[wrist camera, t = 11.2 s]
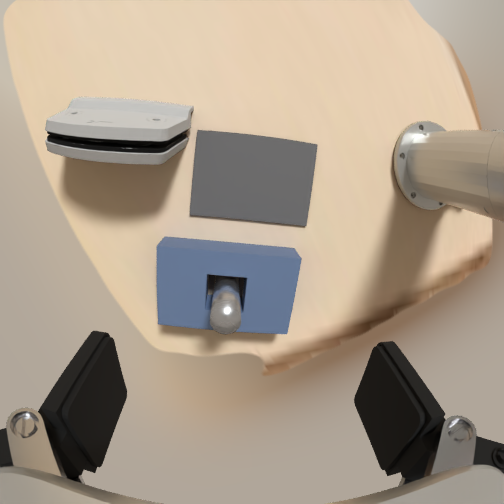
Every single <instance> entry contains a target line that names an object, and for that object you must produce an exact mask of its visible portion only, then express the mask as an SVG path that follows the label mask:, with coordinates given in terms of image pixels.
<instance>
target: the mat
mask: <svg viewBox="0 0 504 504" xmlns="http://www.w3.org/2000/svg"><path fill="white" fill-rule="evenodd" d="M316 153H317V144H311V143H305V142H299V141H293V140H287V139H280V138H273V137H265V136H257V135H249V134H239V133H229V132H217V131H203V130H198V132H197V140H196V149H195V159H194V169H193V180H192V192H191V205H190V215H198V216H210V217H221V218H232V219H243V220H253V221H263V222H273V223H283V224H292V225H301V226H306V224H307V218H308V211H309V205H310V198H311V191H312V184H313V176H314V169H315V161H316Z"/></svg>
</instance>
